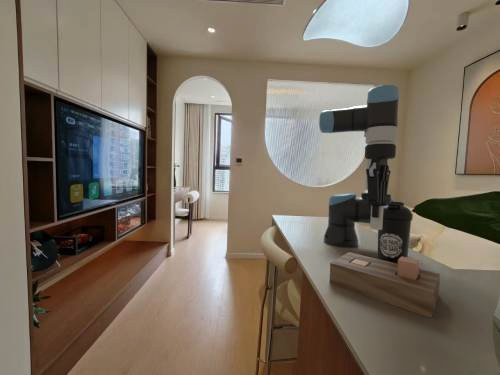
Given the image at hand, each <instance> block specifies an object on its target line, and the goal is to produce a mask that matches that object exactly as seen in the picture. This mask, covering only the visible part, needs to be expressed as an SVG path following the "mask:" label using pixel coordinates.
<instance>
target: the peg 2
mask: <svg viewBox="0 0 500 375" xmlns="http://www.w3.org/2000/svg"><path fill="white" fill-rule="evenodd" d="M419 269H420V260H419V259H416V258H411V257H408V258H407V257H402V256H401V257H400V258H399V259H398V269H397V275H398V276H402V277H405V278H409V279H413V280H417V281H418V272H419Z"/></svg>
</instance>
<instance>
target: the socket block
mask: <svg viewBox="0 0 500 375" xmlns="http://www.w3.org/2000/svg"><path fill="white" fill-rule="evenodd" d="M355 259H358V260H362V261H366V262H369V265H368V266H367V267H364V266H360V265H357V264H353V263H351V262H352V261H353V260H355ZM397 269H398V264H396V263H392V262H388V261H384V260H379V259H378V258H374V257H370V256H367V255H362V254H358V253H353V252H349V251H348V252H347V253H345V254H343V255H342V256H340V257H338V258H336V259H334V260H333V261H331V262H330V263H329V284H331V285H334V286H337V287H340V288H344V289H346V290H348V291H352V292H355V293H358V294H361V295H364V296H366V297H370V298H372V299H376V300H378V301H380V302H384V303H387V304H390V305H391V306H396V307H398V308H401V309H405V310H408V311H410V312H413V313H415V314H419V315H421V316H425V317H428V318H430V319H432V317H433V315H434V311H435V308H436V305H437V302H438V298H439V293H440V292H439V290H440V279H441V278H440V277H441V276H440V275H441V273H437V272H434V271H429V270H425V269H421V268H419V272H418V281H417V280H413V279H409V278H405V277H402V276H398V275H397Z"/></svg>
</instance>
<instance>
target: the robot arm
mask: <svg viewBox="0 0 500 375" xmlns="http://www.w3.org/2000/svg"><path fill="white" fill-rule="evenodd" d="M399 99H400V96H399V87H398V86H397V85H396V84H381V85H377V86H374V87H372V88H370V89H369V90H368V92H367V98H366V105H357V106H352V107H349V108H339V109H338V108H337V109H328V110H323V111H321V112H320V114H319V117H318V118H319V119H318V121H319V130H320V131H319V132H321V133H322V134H335V133H347V132H364V134H363V137H365V144H366V145H365V147H364V159H366V166H365V167H366V168H365V187H364V188H365V189H364V190H363V191H362V192H361V196H357V194H356V193H354V192H353V193H340V194H333V195H330V196H329V199H328V200H329V201H328V218H327V219H328V221H327V226H326V227H327V228H326V230H325V232H324V235H323V242H324V243H325V242H326V243H325V244H327V243H328V245H330V246H332V247H333V246H334V247H340V248H355V247H357V246H358V245H359V238H358V234H357V231H356V226H355V225H356V223H359V224H361V223H362V224H369V226H370V227H369V229H371V230H377V231H378V230H382V225H383V206H387V204H385V203H391V202H396V200H395V198H392V194H391V193H390V192H389V191H388V188H389V182H390V176H391V170H390V166H389V160H393V159H395V158H396V153H397V145H396V144H395V143H396V142H397V139H398V138H397V137H398V136H397V134H398V126H399V123H398V119H399V118H398V116H399V115H398V112H399Z"/></svg>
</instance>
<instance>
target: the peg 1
mask: <svg viewBox="0 0 500 375" xmlns="http://www.w3.org/2000/svg"><path fill="white" fill-rule="evenodd" d="M351 263H353V264H357V265H360V266H364V267H367V266H368V265H369V262H366V261H362V260H358V259H355V260H353V261H352V262H351Z"/></svg>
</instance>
